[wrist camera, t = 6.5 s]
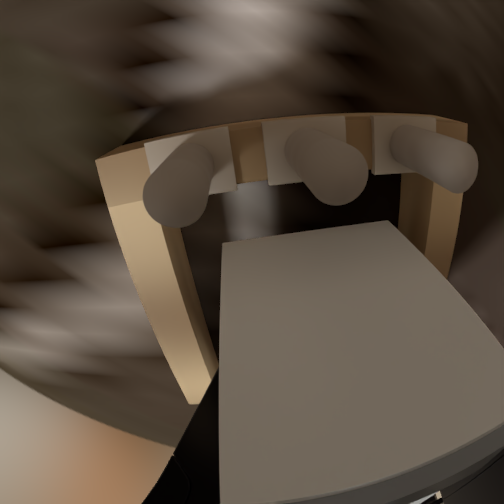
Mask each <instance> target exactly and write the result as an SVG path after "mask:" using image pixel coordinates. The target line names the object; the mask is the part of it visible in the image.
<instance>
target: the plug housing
mask: <svg viewBox="0 0 504 504" xmlns="http://www.w3.org/2000/svg"><path fill="white" fill-rule="evenodd" d="M502 449H504V349H503V347H502V346H501V344H500V343H499V342H498V341H497V339H496V338H495V337H494V335H493V334H492V333H491V331H490V330H489V329H488V328H487V326H486V325H485V324H484V323H483V321H482V320H481V319H480V318H479V316H478V315H477V314H476V313H475V312H474V310H473V309H472V308H471V307H470V306H469V304H468V303H467V302H466V301H465V300H464V299H463V297H462V296H461V295H460V294H459V293H458V292H457V291H456V289H455V288H454V287H453V286H452V285H451V284H450V283H449V282H448V281H447V279H446V278H445V277H444V276H443V275H442V274H441V273H440V272H439V271H438V270H437V269H436V268H435V267H434V265H433V264H432V263H431V262H430V261H429V260H428V259H427V258H426V257H425V256H424V255H423V254H422V253H421V252H420V251H419V250H418V249H417V248H416V247H415V246H414V245H413V244H412V243H411V242H410V241H409V240H408V239H407V238H406V237H405V236H404V235H403V234H402V233H401V232H400V231H399V230H398V229H397V228H396V227H395V226H394V225H392V224H391V223H390V222H389V221H388V220H386V221H378V222H371V223H363V224H355V225H348V226H340V227H333V228H325V229H318V230H311V231H304V232H296V233H289V234H282V235H275V236H268V237H261V238H254V239H247V240H240V241H233V242H226V243H222V263H221V294H220V336H219V475H220V504H421V503H422V502H424V501H425V500H427V499H428V498H430V497H431V496H432V495H434V494H435V493H437V492H438V491H440V490H442V489H444V488H446V487H448V486H450V485H452V484H454V483H456V482H458V481H460V480H462V479H463V478H465V477H467V476H469V475H471V474H473V473H474V472H476V471H478V470H479V469H480V468H482V467H483V466H484V465H485V464H486V463H488V462H489V461H490V460H491V459H492V458H493V457H495V456H496V455H497V454H498V453H499V452H500V451H501V450H502Z"/></svg>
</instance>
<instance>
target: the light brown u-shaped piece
mask: <svg viewBox="0 0 504 504" xmlns="http://www.w3.org/2000/svg"><path fill="white" fill-rule="evenodd" d="M467 131H468V124H467V123H463V122H460V121H456V120H452V119H448V118H444V117H439V116H435V115H427V114H408V113H336V114H316V115H301V116H289V117H278V118H269V119H260V120H252V121H244V122H237V123H230V124H223V125H217V126H211V127H205V128H199V129H194V130H189V131H183V132H178V133H173V134H169V135H164V136H159V137H155V138H151V139H146V140H142V141H138V142H134V143H130V144H126V145H122V146H120V147H118V148H116V149H114V150H112V151H110V152H109V153H107V154H105V155H103V156H101V157H100V158H98V159H96V160H95V161H96V165H97V169H98V173H99V177H100V181H101V184H102V188H103V192H104V195H105V199H106V202H107V205H108V209H109V212H110V215H111V219H112V222H113V225H114V228H115V231H116V234H117V237H118V240H119V243H120V246H121V249H122V252H123V255H124V258H125V260H126V263H127V266H128V269H129V271H130V274H131V277H132V279H133V282H134V285H135V287H136V290H137V292H138V295H139V297H140V300H141V302H142V305H143V307H144V310H145V312H146V314H147V317H148V319H149V321H150V324H151V326H152V328H153V331H154V333H155V335H156V337H157V340H158V342H159V344H160V346H161V348H162V351H163V353H164V355H165V357H166V359H167V361H168V363H169V365H170V367H171V369H172V371H173V373H174V375H175V377H176V379H177V381H178V383H179V385H180V387H181V389H182V391H183V393H184V395H185V397H186V399H187V401H188V403H189V404H199V403H200V402H201V400H202V398H203V396H204V394H205V392H206V390H207V388H208V386H209V384H210V382H211V380H212V378H213V376H214V374H215V372H216V370H217V369H218V367H219V363H218V360H217V357H216V354H215V351H214V348H213V344H212V341H211V338H210V335H209V331H208V328H207V325H206V321H205V318H204V315H203V311H202V308H201V304H200V301H199V297H198V294H197V290H196V287H195V283H194V279H193V276H192V272H191V268H190V265H189V261H188V257H187V253H186V249H185V245H184V241H183V237H182V233H181V229H180V228H181V227H186V226H188V225H191V224H192V223H194V222H195V221H197V220H198V219H199V218H200V217H201V215H202V214H203V212H204V210H205V208H206V205H207V200H208V195H210V194H217V193H223V192H230V191H236V190H237V184H240V183H247V182H254V181H262V180H268V184H269V186H272V185H280V184H288V183H297V182H304V183H305V184H306V186H307V187H308V188H309V189H310V191H311V192H312V193H313V194H314V196H315V197H316V198H317V199H318V200H320V201H321V202H323V203H325V204H328V205H335V206H337V205H344V204H347V203H349V202H351V201H353V200H354V199H356V198H357V197H358V196H359V195H360V194H361V193H362V191H363V190H364V188H365V186H366V183H367V180H368V170H369V169H371V173H373V174H374V175H381V174H396V173H401V193H400V209H399V221H398V230H399V231H400V232H401V233H402V234H403V235H404V236H405V237H406V238H407V239H408V240H409V241H410V242H411V243H412V244H413V245H414V246H415V247H416V248H417V249H418V250H419V251H420V252H421V253H422V254H423V255H424V256H425V257H426V258H427V259H428V260H429V261H430V262H431V263H432V264H433V265H434V267H435V268H436V269H437V270H438V271H439V272H440V273H441V274H442V275H443V276H444V277H445V278H446V279H447V277H448V273H449V269H450V265H451V260H452V256H453V251H454V246H455V241H456V236H457V230H458V224H459V218H460V212H461V205H462V197H463V192H465V191H466V190H468V189H469V188H470V187H471V186H472V184H473V183H474V181H475V179H476V176H477V172H478V158H477V154H476V152H475V150H474V148H473V147H472V146H471V145H470V144H468V143H467Z"/></svg>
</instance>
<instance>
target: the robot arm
mask: <svg viewBox="0 0 504 504" xmlns="http://www.w3.org/2000/svg"><path fill="white" fill-rule="evenodd" d="M173 454H174V456H171V458H170V460H169V462H168V464H167V466H166V467H165V469H164V471H163V473H162V474H161V476H160V478H159V479H158V481H157V483H156V484H155V486H154V487H153V489H152V490H151V491H150V493H149V494H148V496H147V497H146V499H145V500H144V501H143V502H142V504H220V475H219V367H218V369H217V370H216V372H215V374H214V376H213V378H212V380H211V382H210V384H209V386H208V388H207V390H206V392H205V394H204V396H203V398H202V400H201V402H200V403H199V405H198V407H197V409H196V411H195V413H194V415H193V417H192V419H191V421H190V423H189V425H188V426H187V428H186V430H185V432H184V434H183V436H182V438H181V440H180V442H179V443H178V445H177V447H176V449H175V451H174V453H173ZM440 492H441V496H442V498H440V499H438V500H437V497H436V494H434V495H432V496H431V497H430V498H428V499H427V500H425V501H424V502H422V503H421V504H504V449H502V450H501V451H500V452H499V453H498V454H497V455H496V456H495V457H493V458H492V459H491V460H490V461H489V462H488V463H486V464H485V465H484V466H483V467H482V468H480V469H479V470H478V471H476V472H474V473H473V474H471V475H469V476H467V477H465V478H463V479H462V480H460V481H458V482H456V483H454V484H452V485H450V486H448V487H446V488H444V489H442V490H440Z"/></svg>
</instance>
